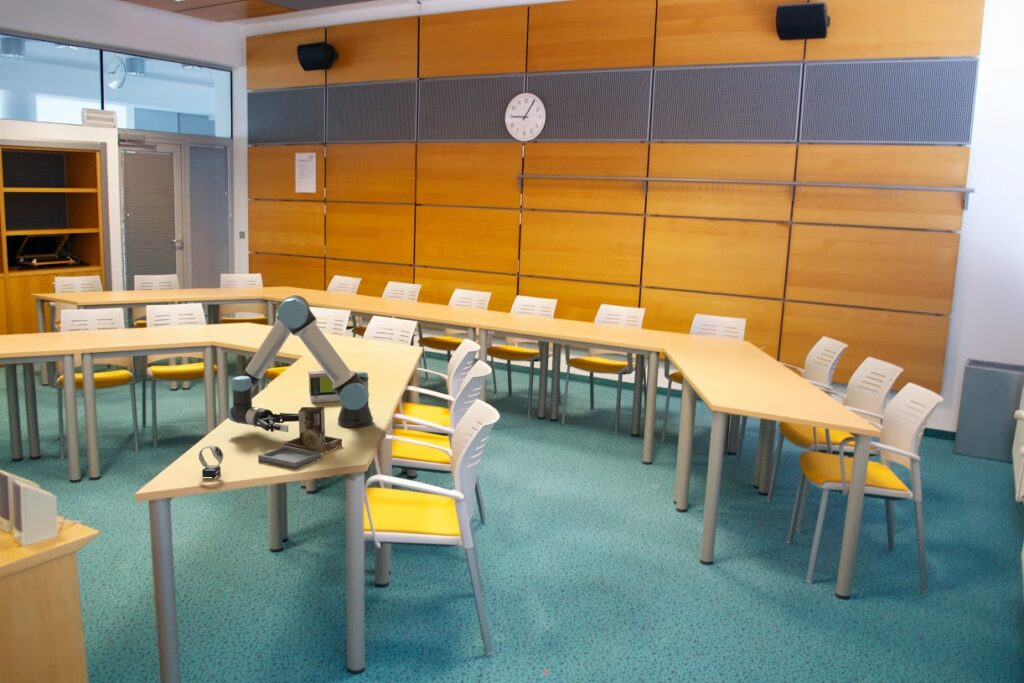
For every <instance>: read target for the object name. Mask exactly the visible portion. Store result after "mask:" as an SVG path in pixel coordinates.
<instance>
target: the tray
mask: <svg viewBox="0 0 1024 683" xmlns="http://www.w3.org/2000/svg"><path fill="white" fill-rule="evenodd" d="M257 458H258V459H257V460H258V461H259V463H262V462H263V464H267V463H268V465H273V466H276V467H277V466H278V467H280V468H286V469H291V468H292V469H291V470H297V468H298V469H300V468H303V467H305V466H307V465H306V464H308V465H309V463H310V464H312V463H311V462H313V461H315V462H317V461H316V460H318V459H320V458H321V459H322V454H321V453H320V452H315V451H310V450H304V449H299V448H294V447H289V446H283V445H282V446H280V447H277V448H274V449H272V450H269V451H266V452H263V453H261V454H258V456H257ZM321 459H320V460H321ZM258 461H257V462H258ZM318 461H319V460H318ZM313 463H314V462H313ZM304 465H305V466H304ZM302 466H303V467H302ZM299 467H300V468H299Z"/></svg>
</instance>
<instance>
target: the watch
mask: <svg viewBox="0 0 1024 683" xmlns="http://www.w3.org/2000/svg"><path fill="white" fill-rule="evenodd" d="M205 449H210V451H211V454H212V456H213V457H214V459H215V460H217V462H218V464H216V465H213V464H212V465H211V464H210V465H209V464H208V462H207V460H205V458H204V456H203V451H204V450H205ZM223 459H224V453H223V451H222V449H221V448H220V447H219V446H216V445H213V444H210V445H206V446H205V447H203V448H201V449H200V451H199V452H198V460H199V462H200V464H201V466H202V467H203V469H202V471H201V472H202V474H201V475H202V476H201V477H202V478H203V477H212V478H215V477H216V476H217V475H219V474H220V473H222V470H221V464H222V463H223ZM220 475H221V474H220ZM220 475H219V476H220Z"/></svg>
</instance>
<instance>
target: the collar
mask: <svg viewBox="0 0 1024 683" xmlns="http://www.w3.org/2000/svg"><path fill="white" fill-rule="evenodd" d="M342 441H343V439H342V438H339V437H334V436H328V435H325V443H327V444H324V445H321V446H319V447H316V448H311V447H306V446H301V445H300V436H299V437H296V438H293V439H291V440H288V441H284V442H283V443H282V447H283V446H289V447H294V448H299V449H304V450H310V451H315V452H320V453H323V454H325V453H324V452H326V451H328V452H330V451H329V450H331V449H333V450H335V449H334V448H336V447H338V446H341V447H343V442H342ZM338 448H339V447H338ZM336 449H337V448H336ZM331 451H332V450H331ZM326 453H327V452H326Z"/></svg>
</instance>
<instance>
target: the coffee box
mask: <svg viewBox="0 0 1024 683" xmlns="http://www.w3.org/2000/svg"><path fill="white" fill-rule="evenodd" d="M297 414H299V421H298V428H299V430H298V432H299V437H300V445H301V446H306V447H311V448H316V447H319V446H321V445H324V444H326V443H325V436H326V424H325V423H326V421H325V420H326V418H325V406H302V407H301V408H300V409H299V411H298V412H297Z"/></svg>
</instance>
